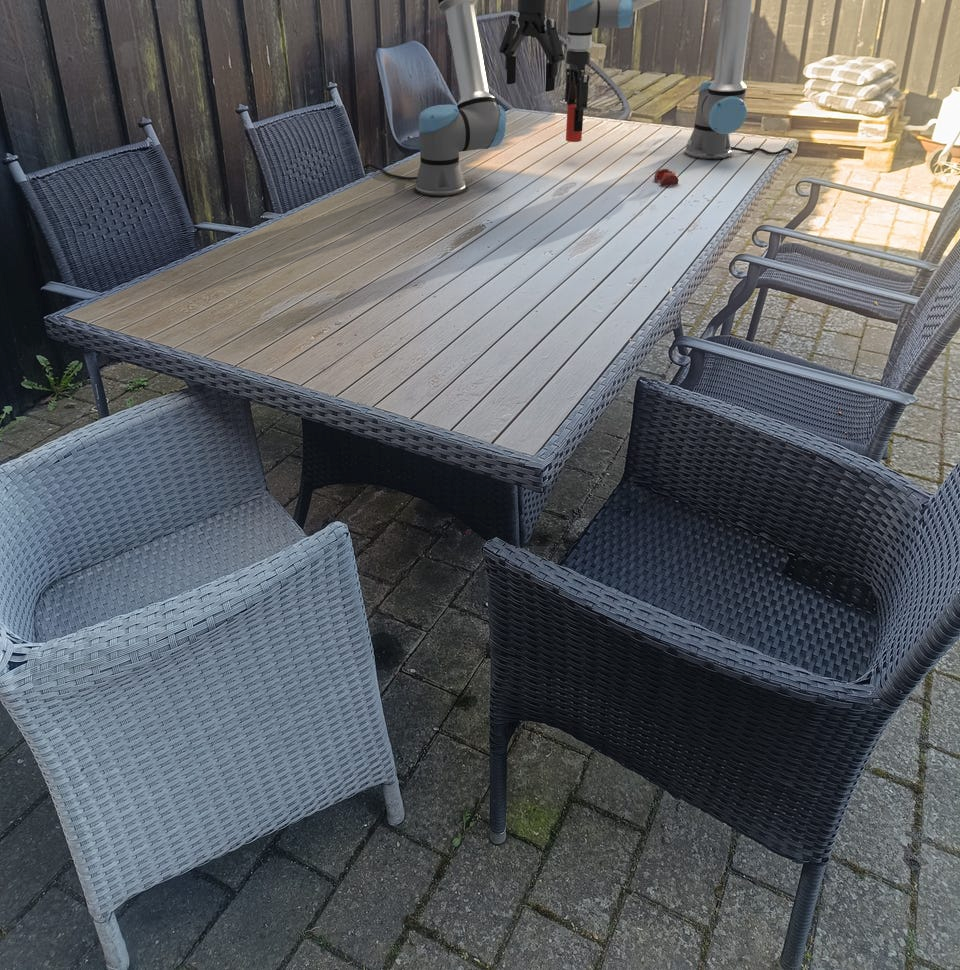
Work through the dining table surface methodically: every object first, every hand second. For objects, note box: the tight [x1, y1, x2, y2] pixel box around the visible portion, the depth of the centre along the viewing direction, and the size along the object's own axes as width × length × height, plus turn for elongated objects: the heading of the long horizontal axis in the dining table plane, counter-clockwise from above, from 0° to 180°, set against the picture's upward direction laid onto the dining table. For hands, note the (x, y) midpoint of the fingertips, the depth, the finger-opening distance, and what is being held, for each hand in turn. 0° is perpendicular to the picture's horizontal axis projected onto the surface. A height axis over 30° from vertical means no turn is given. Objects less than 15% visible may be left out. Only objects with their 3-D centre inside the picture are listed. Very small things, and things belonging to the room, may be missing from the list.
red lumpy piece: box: [653, 168, 679, 187], centre depth 263 cm, size 6×4×8 cm
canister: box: [565, 104, 583, 143], centre depth 274 cm, size 5×5×11 cm
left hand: (530, 87), depth 222 cm, fingers open, 13 cm apart
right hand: (574, 128), depth 275 cm, fingers closed on canister, 5 cm apart
